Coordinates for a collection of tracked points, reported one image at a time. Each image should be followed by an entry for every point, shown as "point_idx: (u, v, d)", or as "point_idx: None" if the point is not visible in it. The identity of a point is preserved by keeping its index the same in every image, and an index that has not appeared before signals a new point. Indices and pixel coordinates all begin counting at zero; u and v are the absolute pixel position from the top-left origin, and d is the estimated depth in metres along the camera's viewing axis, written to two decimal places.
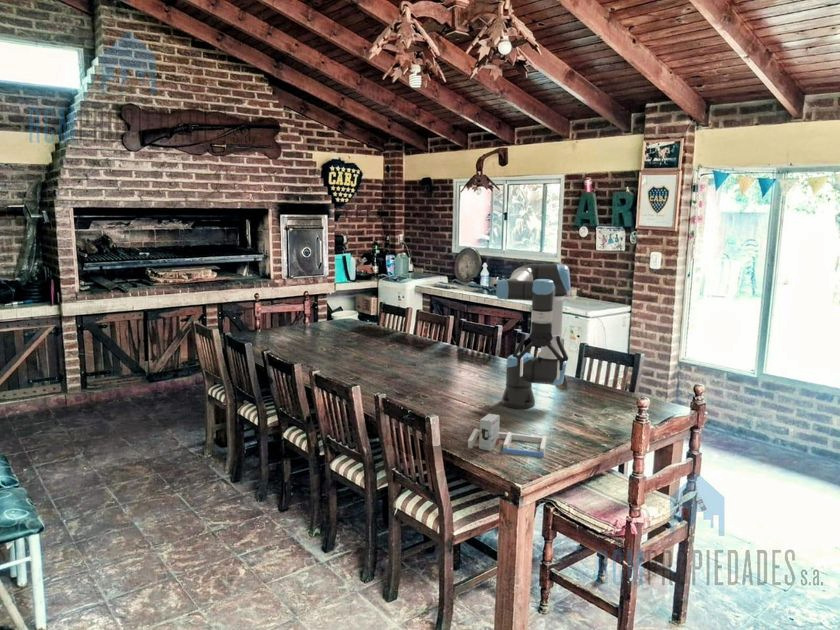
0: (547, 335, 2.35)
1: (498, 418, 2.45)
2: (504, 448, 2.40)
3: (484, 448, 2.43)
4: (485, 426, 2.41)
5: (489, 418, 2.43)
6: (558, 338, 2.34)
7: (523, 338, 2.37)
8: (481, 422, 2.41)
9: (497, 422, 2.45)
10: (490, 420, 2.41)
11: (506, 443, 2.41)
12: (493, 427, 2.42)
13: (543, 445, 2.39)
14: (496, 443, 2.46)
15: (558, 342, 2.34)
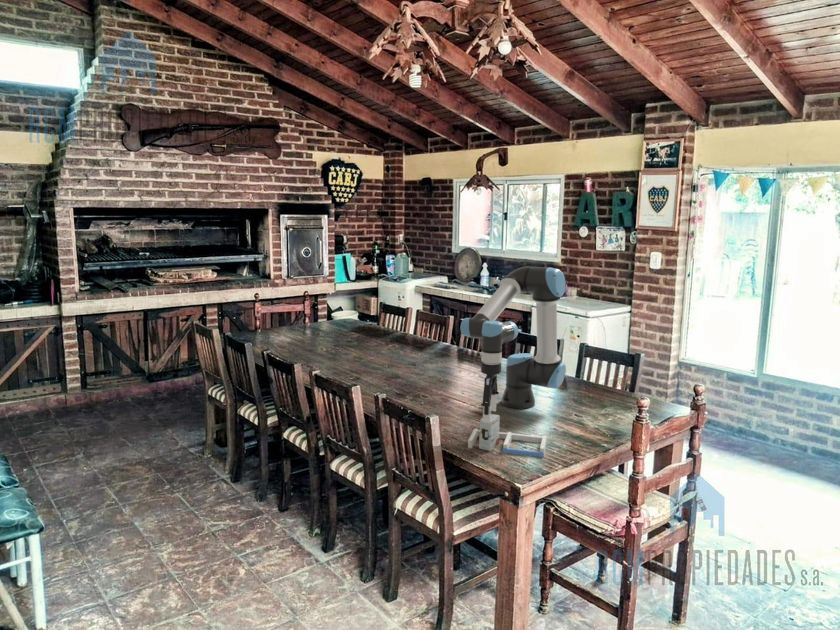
0: None
1: (498, 418, 2.45)
2: (504, 448, 2.40)
3: (484, 448, 2.43)
4: (485, 426, 2.41)
5: None
6: None
7: None
8: (481, 422, 2.41)
9: (497, 422, 2.45)
10: (490, 420, 2.41)
11: (506, 443, 2.41)
12: (493, 427, 2.42)
13: (543, 445, 2.39)
14: (496, 443, 2.46)
15: None
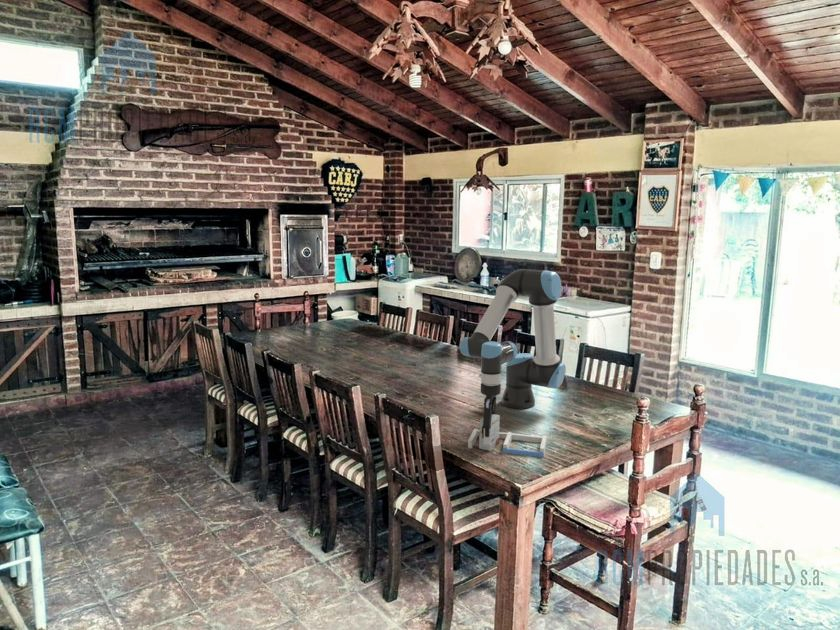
0: (486, 397, 2.40)
1: (498, 418, 2.45)
2: (504, 448, 2.40)
3: (484, 448, 2.43)
4: None
5: None
6: (484, 404, 2.37)
7: None
8: (481, 422, 2.41)
9: (497, 422, 2.45)
10: None
11: (506, 443, 2.41)
12: (493, 427, 2.42)
13: (543, 445, 2.39)
14: (496, 443, 2.46)
15: None
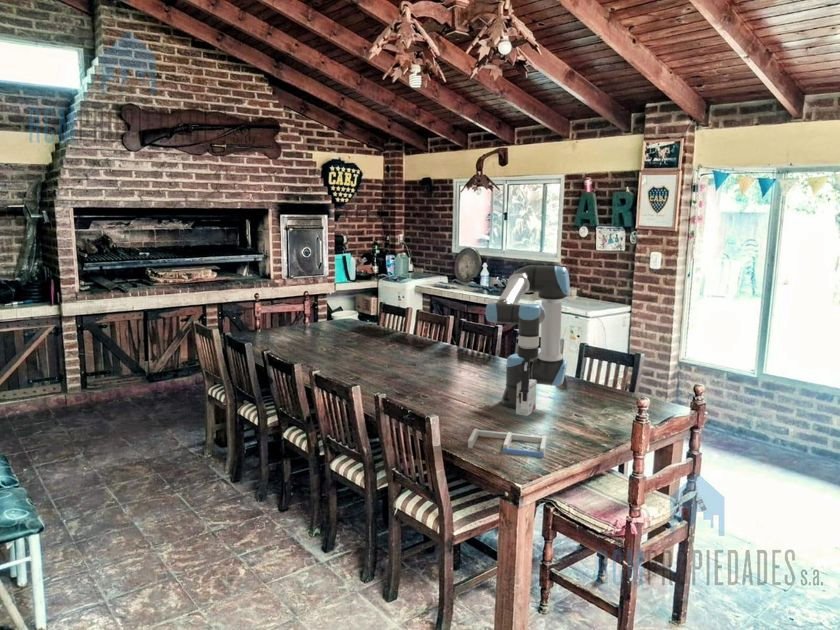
0: (523, 360, 2.34)
1: (535, 383, 2.39)
2: (504, 448, 2.40)
3: (521, 413, 2.36)
4: None
5: None
6: (522, 367, 2.30)
7: None
8: (518, 386, 2.35)
9: (534, 386, 2.38)
10: None
11: (506, 443, 2.41)
12: (530, 391, 2.35)
13: (543, 445, 2.39)
14: (533, 408, 2.40)
15: (522, 371, 2.31)
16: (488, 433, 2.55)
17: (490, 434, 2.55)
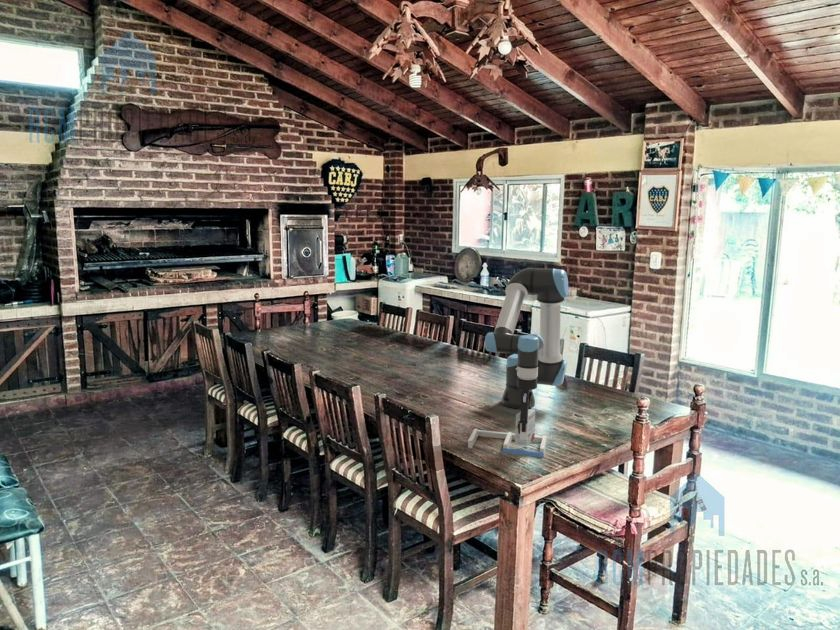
0: (522, 391, 2.36)
1: (534, 413, 2.41)
2: (504, 448, 2.40)
3: (520, 443, 2.38)
4: None
5: None
6: (521, 398, 2.33)
7: None
8: (517, 417, 2.37)
9: (533, 417, 2.41)
10: None
11: (506, 443, 2.41)
12: (529, 422, 2.37)
13: (543, 445, 2.39)
14: (532, 438, 2.42)
15: (521, 402, 2.33)
16: (488, 433, 2.55)
17: (490, 434, 2.55)
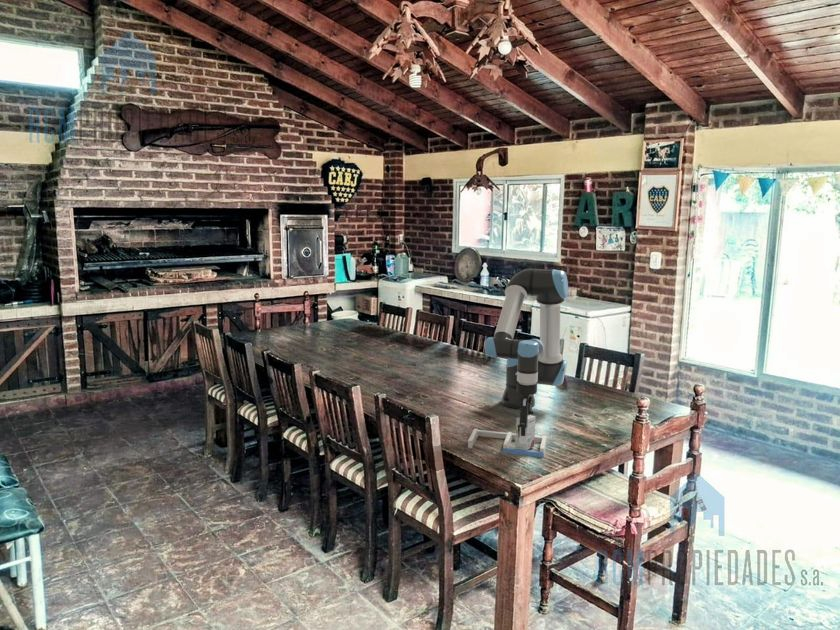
0: None
1: (534, 418, 2.43)
2: (504, 448, 2.40)
3: (520, 448, 2.39)
4: None
5: None
6: (521, 402, 2.33)
7: None
8: (518, 420, 2.39)
9: (533, 422, 2.43)
10: None
11: (506, 443, 2.41)
12: (529, 426, 2.39)
13: (543, 445, 2.39)
14: (532, 444, 2.43)
15: (521, 406, 2.33)
16: (488, 433, 2.55)
17: (490, 434, 2.55)
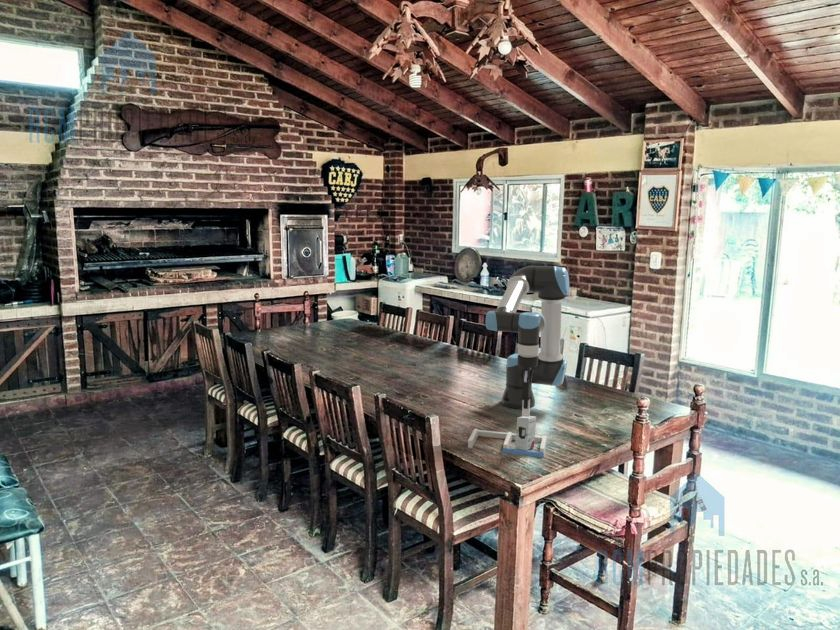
0: (523, 369, 2.34)
1: (535, 419, 2.44)
2: (504, 448, 2.40)
3: (520, 447, 2.39)
4: (522, 424, 2.39)
5: (526, 417, 2.41)
6: (522, 379, 2.32)
7: None
8: (518, 420, 2.39)
9: (534, 423, 2.43)
10: (528, 418, 2.39)
11: (506, 443, 2.41)
12: (530, 426, 2.39)
13: (543, 445, 2.39)
14: (532, 445, 2.43)
15: (522, 381, 2.33)
16: (488, 433, 2.55)
17: (490, 434, 2.55)
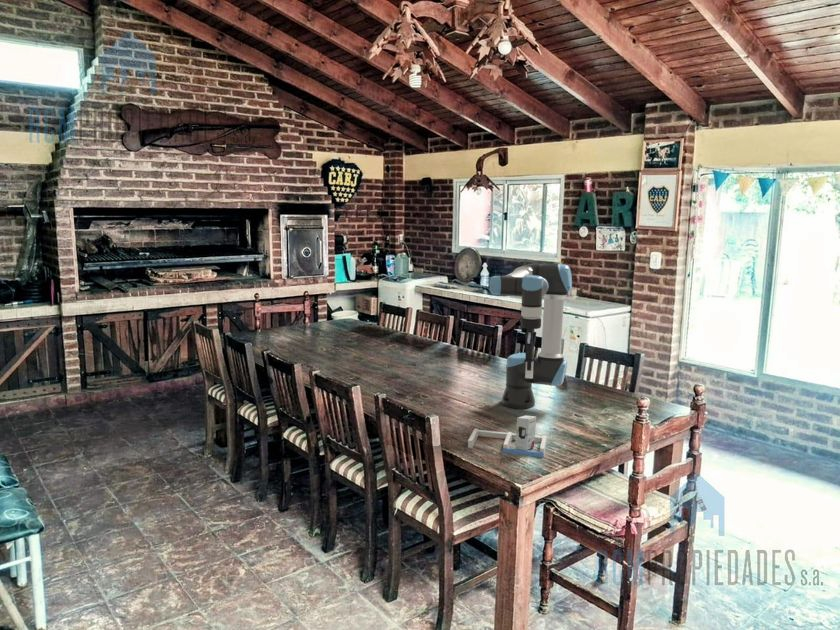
0: None
1: (535, 419, 2.44)
2: (504, 448, 2.40)
3: (520, 447, 2.39)
4: (522, 424, 2.39)
5: (526, 417, 2.41)
6: (525, 340, 2.36)
7: None
8: (518, 420, 2.39)
9: (534, 423, 2.43)
10: (528, 418, 2.39)
11: (506, 443, 2.41)
12: (530, 426, 2.39)
13: (543, 445, 2.39)
14: (532, 445, 2.43)
15: (525, 343, 2.37)
16: (488, 433, 2.55)
17: (490, 434, 2.55)
